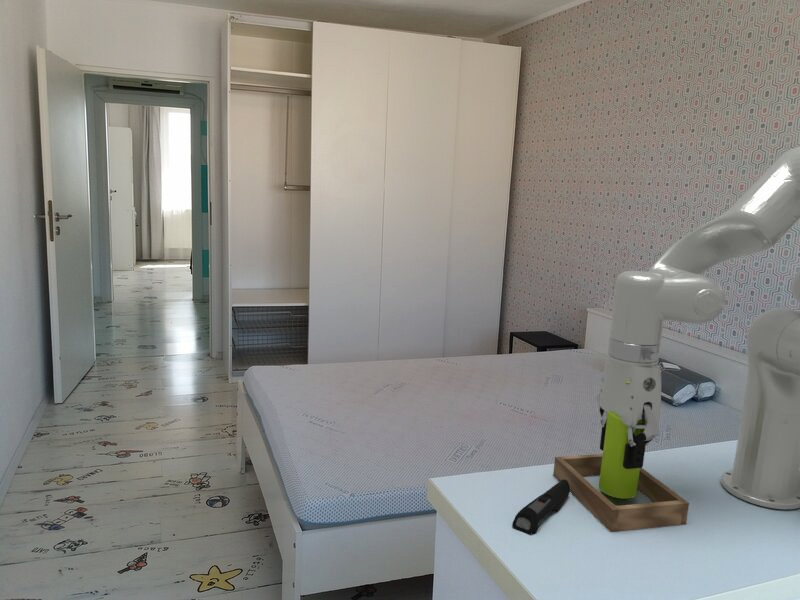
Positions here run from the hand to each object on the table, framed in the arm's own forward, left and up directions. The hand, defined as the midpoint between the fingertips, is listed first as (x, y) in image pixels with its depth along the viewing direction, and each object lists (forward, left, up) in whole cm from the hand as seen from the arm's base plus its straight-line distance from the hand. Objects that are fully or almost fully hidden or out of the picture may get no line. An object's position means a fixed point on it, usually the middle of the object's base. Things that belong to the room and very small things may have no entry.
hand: (620, 457), depth 102 cm
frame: (0, 0, -7) cm, 7 cm away
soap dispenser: (0, 0, -6) cm, 6 cm away
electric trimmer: (+14, +2, -8) cm, 16 cm away
